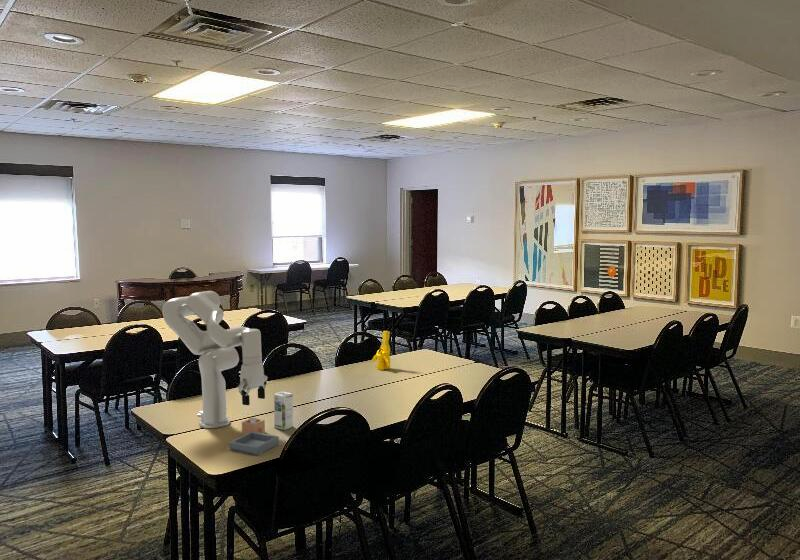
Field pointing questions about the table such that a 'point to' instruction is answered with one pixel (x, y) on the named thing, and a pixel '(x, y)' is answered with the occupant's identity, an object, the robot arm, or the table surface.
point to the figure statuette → (383, 353)
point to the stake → (252, 420)
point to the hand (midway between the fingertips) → (253, 401)
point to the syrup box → (283, 410)
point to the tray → (254, 443)
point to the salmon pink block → (253, 426)
